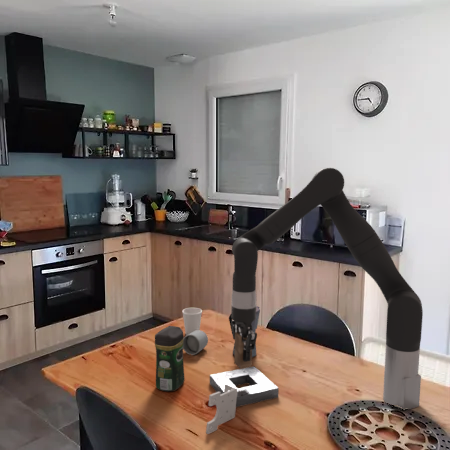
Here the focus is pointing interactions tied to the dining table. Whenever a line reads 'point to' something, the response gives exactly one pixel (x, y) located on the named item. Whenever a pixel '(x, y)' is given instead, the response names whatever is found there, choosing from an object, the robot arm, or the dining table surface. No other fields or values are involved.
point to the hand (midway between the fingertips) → (243, 357)
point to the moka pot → (254, 327)
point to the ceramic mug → (195, 342)
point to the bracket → (222, 407)
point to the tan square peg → (241, 353)
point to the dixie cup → (191, 319)
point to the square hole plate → (251, 394)
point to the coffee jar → (169, 358)
